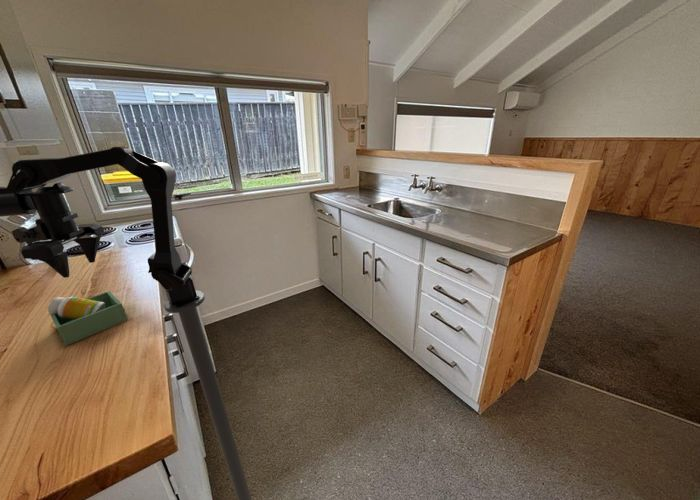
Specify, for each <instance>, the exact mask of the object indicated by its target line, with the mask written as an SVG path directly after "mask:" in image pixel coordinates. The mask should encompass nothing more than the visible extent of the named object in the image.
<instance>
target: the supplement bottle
mask: <svg viewBox="0 0 700 500" xmlns="http://www.w3.org/2000/svg"><path fill="white" fill-rule="evenodd" d="M103 309H105V303H104V302H100V301H94V300H89V299H87V298H82V297H78V296H68V297H66V298H65V297H61V296H55V297H54V298H52V300H51V301H50V302H49V304H48V307H47V311H48V313H49V312H50V313H54V314H57V313H58V315H59V316H60V317H62V318H67V319H73V320H76V319H79V318H81V317H84V316H87V315H89V314H92V313H95V312H97V311H100V310H103ZM50 313H49V314H50Z"/></svg>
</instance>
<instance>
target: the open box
mask: <svg viewBox="0 0 700 500" xmlns="http://www.w3.org/2000/svg"><path fill="white" fill-rule="evenodd" d="M86 299H89V300H94V301H100V302H104V303H105V309H103V310H100V311H97V312H95V313H92V314H89V315H87V316H84V317H81V318H79V319H76V320H73V319H67V318H62V317H60V316H59V315H58V313H57V314H54V313H50V312H48V313H49V315H50V318H51V320H52V321H53V323H54V326H55V328H56V330H57V332H58V333H59V335H60V338H61V340H62V341H63V343H64V345H65V346H69V345H71V344H74V343H76V342H78V341H82V339H85V338H88V337H90V336H93V335H94V334H98V333H100V332H102V331H104V330H106V329H109V328H112V327H114V326H116V325H119V324H121V323H123V322H126V321H128V320H129V318H128V315H127V313H126V311H125V308H124V306H123V303H122V302H121V301H120V300H119V299H118V298H117V297H116V296H115V295H114V294H113V293H112V292H111V291H110V290H108V291H104V292H102V293H99V294H96V295H93V296H90V297H87V298H86Z"/></svg>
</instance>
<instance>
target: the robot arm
mask: <svg viewBox="0 0 700 500" xmlns="http://www.w3.org/2000/svg"><path fill="white" fill-rule="evenodd" d="M117 165H118V166H120V167H122V168H123V169H125V170H126V171H127V172H128V173H130V174H131V175H133V176H135V177H137V178H139V179H141V182H142V186H143V189H144V191H145V192H146V194H147V195H148V197H149V199H150V206H151V214H152V215H151V217H152V227H153V236H154V246H155V247H154V248H155V251H154V252H153V253H152V254H151V255H150V256H149V257H148V258H147V265H148V272H147V273H148V274H150V275H151V278H152V279H153V280H155V281H156V282H158V283H159V285H160V286H161V287H162V288H163V289H164V292H165V295H166V298H167V300H168V301H169V303H171V304H172V305H174V306H176V307H177V308H178V307H181V306H183V305H185V304H188V303H190V302H192V301H194V300H197V299H199V298H200V297H199V296H198V295H197V294H196V291H197V290H196V287H195V283H194V281H193V278H192V277H191V276H192V273H193V268H192V267H190V266H189V265H187V264H186V263H184V262H182V259H181V255H180V253H179V252H178V250H177V249H176V245H175V232H174V218H173V206H172V197H173V194H174V190H175V187H176V180H177V173H176V169H175V168H174V167H172V166H171V165H170V164H169V163H167V162H163V161H161V162H159V161H157V160H155V159H154V158H151V157H148V156H146V155H144V154H142V153H139V152H137V151H135V150H133V149H132V148H130V147H129V146H124V145H123V146H112V147H111V148H108V149H103V150H102V149H101V150H97V151H92V152H87V153H81V154H76V155H72V156H66V157H43V158H29V159H18V160H15V161H14V162H12V166H11V173H12V174H11V176H10V178H9V180H8V184H7V186H0V217H13V216H25V215H26V216H27V215H33V214H35V213H36V212H37V214H38V217H39V218H36V219H35V221H34V223H35V225H36V226H34V227H31V228H27V227H24V226H21V227H18V228H15V229H13V230H11V234H12V237H13V239H14V240H15V241H16V242H17V243H20V244H23V243H25V245H23V246H22V247H21V248H20V250H19V251H20V254H21V255H22V258H23V259H24V260H28V259H30V260H32V261H41V262H43V263H45V264H46V265H48V266H49V267H51V268H52V269H53V270H54V271H55V272H56V273H58V274H59V275H60V276H61V277H62V278H63V279H64V278H65V279H66V278H69V277H70V266H69V265H70V264H69V258H68V252H67V251H64V249H65V246H64V245H66V244H69V243H71V242H75V243H76V244H78V245H79V246H80V248H81V250H82V252H83V254H84V256H85V258H86V259H87V261H88V263H90V264H92V263H95V262H96V257H97V254H98V253H97V252H98V248H99V245H100V241H101V238H103V234H104V233H105V230H104V227H103V225H102V224H99V223H97V222H96V223H95V222H94V223H83V224H77V222H76V219H77V218H79V215H78V213H77V212H74V213H73V212H72V210H71V207H70V205H69V202H68V200H67V198H66V195H65V194H66V193H71V192H74V188H73V187H70V186H67V185H65V184H64V183H63V182H59V181H61V180H63V179H66V178H68V177H70V176H73V175H74V174H77V173H82V172H87V171H92V170H97V169H101V168H106V167H112V166H117ZM52 183H53V184H52ZM48 184H52V186H51V185H50V186H47V185H48ZM34 189H36V191H33V190H34ZM195 290H196V291H195Z"/></svg>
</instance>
